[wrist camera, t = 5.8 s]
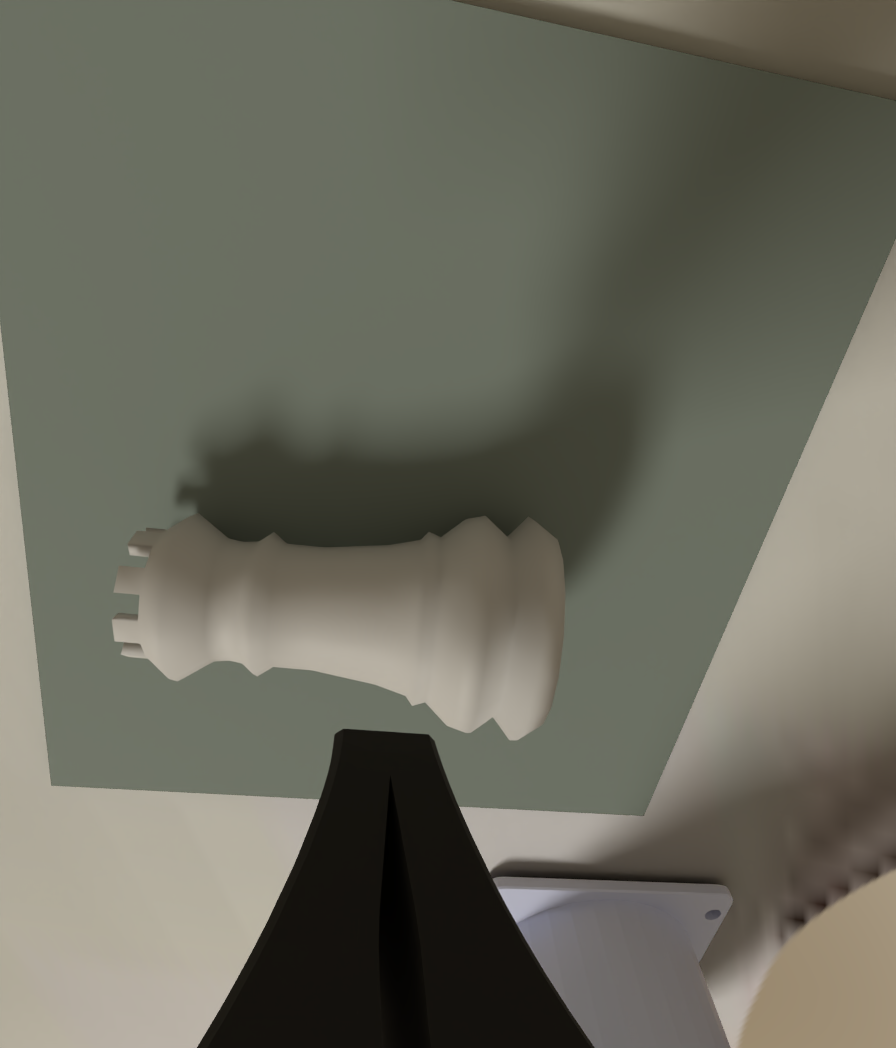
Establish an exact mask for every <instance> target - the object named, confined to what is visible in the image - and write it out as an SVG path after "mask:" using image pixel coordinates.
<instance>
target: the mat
mask: <svg viewBox="0 0 896 1048" xmlns="http://www.w3.org/2000/svg"><path fill="white" fill-rule="evenodd" d="M895 239H896V101H895V100H891V99H886V98H882V97H877V96H873V95H868V94H864V93H860V92H855V91H851V90H846V89H842V88H837V87H833V86H829V85H824V84H820V83H815V82H811V81H806V80H802V79H798V78H793V77H789V76H784V75H780V74H775V73H771V72H767V71H762V70H758V69H753V68H749V67H744V66H740V65H736V64H731V63H727V62H722V61H718V60H713V59H709V58H705V57H700V56H696V55H691V54H687V53H682V52H678V51H674V50H669V49H665V48H660V47H656V46H651V45H647V44H642V43H638V42H634V41H629V40H625V39H620V38H616V37H611V36H607V35H603V34H598V33H594V32H589V31H585V30H580V29H576V28H572V27H567V26H563V25H558V24H554V23H549V22H545V21H541V20H536V19H532V18H527V17H523V16H518V15H514V14H510V13H505V12H501V11H496V10H492V9H487V8H483V7H479V6H474V5H470V4H465V3H461V2H456V1H452V0H0V324H1V333H2V342H3V351H4V360H5V370H6V379H7V388H8V397H9V406H10V415H11V424H12V433H13V442H14V451H15V460H16V470H17V479H18V488H19V497H20V506H21V515H22V524H23V533H24V542H25V551H26V560H27V570H28V579H29V588H30V597H31V606H32V615H33V624H34V633H35V642H36V651H37V660H38V670H39V679H40V688H41V697H42V706H43V715H44V724H45V733H46V742H47V751H48V760H49V769H50V779H51V786H71V787H90V788H110V789H129V790H149V791H168V792H187V793H207V794H226V795H246V796H265V797H285V798H304V799H320V797H321V794H322V791H323V788H324V785H325V781H326V778H327V774H328V770H329V766H330V762H331V756H332V749H333V742H334V734H336V733H337V732H339V731H340V730H342V729H357V730H372V731H387V732H402V733H417V734H429V735H430V736H431V737H432V739H433V740H434V741H435V744H436V747H437V750H438V753H439V756H440V759H441V762H442V765H443V768H444V771H445V773H446V776H447V779H448V781H449V784H450V786H451V789H452V791H453V794H454V796H455V799H456V801H457V803H458V806H460V807H480V808H499V809H519V810H538V811H558V812H577V813H597V814H616V815H636V816H644V814H645V812H646V809H647V807H648V805H649V802H650V800H651V798H652V796H653V793H654V791H655V789H656V786H657V784H658V782H659V780H660V777H661V775H662V773H663V770H664V768H665V766H666V764H667V761H668V759H669V757H670V754H671V752H672V750H673V747H674V745H675V743H676V741H677V738H678V736H679V734H680V731H681V729H682V727H683V725H684V722H685V720H686V718H687V715H688V713H689V711H690V709H691V706H692V704H693V702H694V699H695V697H696V695H697V692H698V690H699V688H700V686H701V683H702V681H703V679H704V676H705V674H706V672H707V670H708V667H709V665H710V663H711V660H712V658H713V656H714V654H715V651H716V649H717V647H718V644H719V642H720V640H721V638H722V635H723V633H724V631H725V628H726V626H727V624H728V621H729V619H730V617H731V615H732V612H733V610H734V608H735V605H736V603H737V601H738V599H739V596H740V594H741V592H742V589H743V587H744V585H745V583H746V580H747V578H748V576H749V573H750V571H751V569H752V567H753V564H754V562H755V560H756V557H757V555H758V553H759V550H760V548H761V546H762V544H763V541H764V539H765V537H766V534H767V532H768V530H769V528H770V525H771V523H772V521H773V518H774V516H775V514H776V512H777V509H778V507H779V505H780V502H781V500H782V498H783V495H784V493H785V491H786V489H787V486H788V484H789V482H790V479H791V477H792V475H793V473H794V470H795V468H796V466H797V463H798V461H799V459H800V457H801V454H802V452H803V450H804V447H805V445H806V443H807V441H808V438H809V436H810V434H811V431H812V429H813V427H814V424H815V422H816V420H817V418H818V415H819V413H820V411H821V408H822V406H823V404H824V402H825V399H826V397H827V395H828V392H829V390H830V388H831V386H832V383H833V381H834V379H835V376H836V374H837V372H838V369H839V367H840V365H841V363H842V360H843V358H844V356H845V353H846V351H847V349H848V347H849V344H850V342H851V340H852V337H853V335H854V333H855V331H856V328H857V326H858V324H859V321H860V319H861V317H862V315H863V312H864V310H865V308H866V305H867V303H868V301H869V298H870V296H871V294H872V292H873V289H874V287H875V285H876V282H877V280H878V278H879V276H880V273H881V271H882V269H883V266H884V264H885V262H886V260H887V257H888V255H889V253H890V250H891V248H892V246H893V243H894V241H895ZM198 513H199V514H200V515H201V516H203V517H204V518H205V519H206V520H207V521H209V522H210V523H211V524H212V525H213V526H215V527H216V528H217V529H218V530H219V531H221V532H222V533H223V534H224V535H225V536H226V537H228V538H229V539H233V540H237V541H242V542H257V541H261V540H262V539H264V538H265V537H267V536H269V535H270V534H272V533H273V532H275V533H276V534H277V535H278V536H279V537H280V538H281V539H282V540H283V541H285V542H286V543H287V544H295V545H305V546H315V547H351V546H379V545H393V544H399V543H405V542H411V541H416V540H421V539H422V538H423V537H424V536H425V535H426V534H427V533H428V532H431V533H433V534H435V535H437V536H439V537H442V536H443V535H445V534H446V533H447V532H449V531H450V530H451V529H453V528H454V527H456V526H457V525H458V524H460V523H461V522H462V521H464V520H465V519H469V518H475V517H481V516H486V517H487V518H488V519H489V520H490V521H492V522H493V523H494V524H495V525H496V526H497V527H498V528H499V529H500V530H501V531H502V532H503V533H504V534H505V535H506V536H508V535H510V534H511V533H512V532H513V531H514V530H515V529H516V528H517V527H518V526H519V525H520V524H521V523H522V522H523V521H524V520H525V519H526V518H527V517H530V518H531V519H533V520H534V521H536V522H537V523H538V524H539V525H541V526H542V527H543V528H544V529H545V530H546V531H548V532H549V533H550V534H551V535H552V536H554V537H555V538H556V539H557V540H558V542H559V546H560V550H561V554H562V558H563V565H564V579H565V622H564V640H563V648H562V656H561V664H560V672H559V678H558V682H557V686H556V690H555V695H554V699H553V703H552V707H551V710H550V712H549V714H548V715H547V717H546V719H545V721H544V723H543V725H542V726H540V727H538V728H537V729H535V730H533V731H532V732H530V733H528V734H527V735H525V736H524V737H522V738H520V739H519V740H509V739H508V738H507V736H506V735H505V733H504V732H503V731H502V729H501V728H500V726H499V725H498V724H497V722H496V721H495V720H494V718H493V717H492V718H491V719H490V720H488V721H487V722H485V723H484V724H482V725H481V726H480V727H478V728H477V729H475V730H474V731H473V732H471V733H464V732H462V731H459V730H457V729H454V728H451V727H449V726H446V725H445V723H444V722H443V721H442V720H441V719H440V718H439V717H438V716H437V715H436V714H435V713H434V711H433V710H432V709H431V708H430V707H429V706H428V705H427V704H426V703H421V704H417V705H413V706H412V705H411V704H410V702H409V701H408V699H407V698H406V696H404V695H401V694H399V693H396V692H393V691H391V690H388V689H385V688H383V687H380V686H377V685H374V684H370V683H365V682H361V681H357V680H352V679H348V678H343V677H339V676H334V675H330V674H326V673H321V672H317V671H312V670H302V669H291V668H279V667H272V668H271V669H269V670H267V671H266V672H264V673H262V674H261V675H259V676H256V675H254V674H252V673H251V672H250V671H249V670H248V669H247V668H246V667H245V666H244V665H243V664H242V663H238V662H233V661H214V662H212V663H210V664H209V665H207V666H205V667H203V668H201V669H199V670H198V671H196V672H194V673H192V674H190V675H189V676H187V677H185V678H183V679H181V680H179V681H175V680H171V679H168V678H167V677H166V676H165V675H164V674H163V673H162V672H161V671H160V670H159V669H158V668H157V667H156V666H155V665H154V664H153V663H152V662H151V661H150V660H149V659H145V658H134V657H127V656H124V655H121V652H122V648H123V645H124V642H116V641H114V634H113V625H112V619H113V618H114V617H115V615H116V614H117V613H127V614H138V611H139V595H135V594H124V593H113V592H114V587H115V582H116V577H117V572H118V567H119V566H129V567H140V568H145V566H146V563H147V561H148V558H149V557H143V556H133V555H130V554H129V549H128V542H129V541H130V539H131V538H132V537H133V535H134V534H135V533H136V531H146V528H157V529H169V528H171V527H172V526H174V525H176V524H177V523H179V522H181V521H182V520H184V519H186V518H187V517H189V516H192V515H195V514H198Z"/></svg>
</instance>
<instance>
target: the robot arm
mask: <svg viewBox="0 0 896 1048" xmlns="http://www.w3.org/2000/svg"><path fill="white" fill-rule="evenodd" d="M732 903H733V898H732V896H731V894H730V891H729V889H728V888H727V887H726V886H724V885H719V884H695V883H667V882H640V881H612V880H585V879H557V878H530V877H496V878H493V879H492V877H491V875H490V873H489V871H488V869H487V867H486V864H485V862H484V860H483V858H482V856H481V854H480V852H479V850H478V848H477V846H476V844H475V842H474V840H473V838H472V836H471V833H470V831H469V829H468V827H467V824H466V822H465V820H464V818H463V815H462V813H461V811H460V808H459V806H458V803H457V801H456V799H455V796H454V794H453V791H452V789H451V786H450V784H449V781H448V779H447V776H446V773H445V771H444V768H443V765H442V762H441V759H440V756H439V753H438V750H437V747H436V744H435V741H434V740H433V739H432V737H431V736H430V735H429V734H417V733H402V732H387V731H372V730H357V729H342V730H340V731H339V732H337V733H336V734H334V742H333V749H332V756H331V762H330V766H329V770H328V774H327V778H326V781H325V785H324V788H323V791H322V794H321V797H320V800H319V803H318V806H317V809H316V812H315V814H314V817H313V819H312V822H311V824H310V827H309V829H308V832H307V835H306V837H305V840H304V842H303V845H302V847H301V850H300V852H299V855H298V857H297V859H296V862H295V864H294V866H293V869H292V871H291V873H290V875H289V877H288V879H287V881H286V884H285V886H284V888H283V890H282V892H281V894H280V896H279V898H278V900H277V903H276V905H275V907H274V909H273V911H272V913H271V915H270V917H269V919H268V922H267V924H266V926H265V928H264V930H263V931H262V933H261V935H260V937H259V939H258V941H257V943H256V945H255V947H254V949H253V951H252V953H251V954H250V956H249V958H248V960H247V962H246V964H245V966H244V968H243V969H242V971H241V973H240V975H239V977H238V978H237V980H236V982H235V984H234V986H233V987H232V989H231V991H230V993H229V995H228V996H227V998H226V1000H225V1002H224V1003H223V1005H222V1007H221V1009H220V1010H219V1012H218V1014H217V1015H216V1017H215V1019H214V1020H213V1022H212V1024H211V1025H210V1027H209V1029H208V1030H207V1032H206V1034H205V1035H204V1037H203V1039H202V1040H201V1042H200V1044H199V1045H198V1047H197V1048H730V1045H729V1042H728V1040H727V1037H726V1034H725V1032H724V1029H723V1026H722V1024H721V1021H720V1018H719V1016H718V1013H717V1010H716V1008H715V1005H714V1002H713V1000H712V997H711V994H710V992H709V989H708V986H707V984H706V981H705V978H704V976H703V973H702V970H701V968H700V965H699V962H700V960H701V959H702V957H703V955H704V953H705V952H706V950H707V948H708V946H709V944H710V943H711V941H712V939H713V937H714V936H715V934H716V932H717V930H718V929H719V927H720V925H721V923H722V921H723V920H724V918H725V916H726V914H727V913H728V911H729V909H730V907H731V906H732Z"/></svg>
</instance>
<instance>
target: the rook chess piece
mask: <svg viewBox="0 0 896 1048" xmlns="http://www.w3.org/2000/svg"><path fill="white" fill-rule="evenodd" d="M128 549H129V554H130V555H133V556H143V557H149V558H148V561H147V563H146V566H145V568H140V567H129V566H119V567H118V572H117V577H116V582H115V587H114V592H113V593H124V594H135V595H139V611H138V614H127V613H117V614H116V615H115V617H114V618H113V619H112V625H113V634H114V641H116V642H124V645H123V648H122V652H121V655H124V656H127V657H134V658H145V659H149V660H150V661H151V662H152V663H153V664H154V665H155V666H156V667H157V668H158V669H159V670H160V671H161V672H162V673H163V674H164V675H165V676H166V677H167V678H168V679H171V680H175V681H179V680H181V679H183V678H185V677H187V676H189V675H190V674H192V673H194V672H196V671H198V670H199V669H201V668H203V667H205V666H207V665H209V664H210V663H212V662H214V661H233V662H238V663H242V664H243V665H244V666H245V667H246V668H247V669H248V670H249V671H250V672H251V673H252V674H254V675H256V676H259V675H261V674H262V673H264V672H266V671H267V670H269V669H271V668H272V667H279V668H291V669H302V670H312V671H317V672H321V673H326V674H330V675H334V676H339V677H343V678H348V679H352V680H357V681H361V682H365V683H370V684H374V685H377V686H380V687H383V688H385V689H388V690H391V691H393V692H396V693H399V694H401V695H404V696H406V698H407V699H408V701H409V702H410V704H411V705H412V706H413V705H417V704H421V703H426V704H427V705H428V706H429V707H430V708H431V709H432V710H433V711H434V713H435V714H436V715H437V716H438V717H439V718H440V719H441V720H442V721H443V722H444V723H445V725H446V726H449V727H451V728H454V729H457V730H459V731H462V732H464V733H471V732H473V731H474V730H475V729H477V728H478V727H480V726H481V725H482V724H484V723H485V722H487V721H488V720H490V719H491V718H492V717H493V718H494V720H495V721H496V722H497V724H498V725H499V726H500V728H501V729H502V731H503V732H504V733H505V735H506V736H507V738H508V739H509V740H519V739H520V738H522V737H524V736H525V735H527V734H528V733H530V732H532V731H533V730H535V729H537V728H538V727H540V726H542V725H543V723H544V721H545V719H546V717H547V715H548V714H549V712H550V710H551V707H552V703H553V699H554V695H555V690H556V686H557V682H558V678H559V672H560V664H561V656H562V648H563V640H564V622H565V579H564V565H563V558H562V554H561V550H560V546H559V542H558V540H557V539H556V538H555V537H554V536H552V535H551V534H550V533H549V532H548V531H546V530H545V529H544V528H543V527H542V526H541V525H539V524H538V523H537V522H536V521H534V520H533V519H531V518H530V517H527V518H526V519H525V520H524V521H523V522H522V523H521V524H520V525H519V526H518V527H517V528H516V529H515V530H514V531H513V532H512V533H511V534H510V535H508V536H506V535H505V534H504V533H503V532H502V531H501V530H500V529H499V528H498V527H497V526H496V525H495V524H494V523H493V522H492V521H490V520H489V519H488V518H487V517H486V516H481V517H475V518H469V519H465V520H464V521H462V522H461V523H460V524H458V525H457V526H456V527H454V528H453V529H451V530H450V531H449V532H447V533H446V534H445V535H443V536H442V537H439V536H437V535H435V534H433V533H431V532H428V533H427V534H426V535H425V536H424V537H423V538H422V539H421V540H416V541H411V542H405V543H399V544H393V545H379V546H351V547H315V546H305V545H295V544H287V543H286V542H285V541H283V540H282V539H281V538H280V537H279V536H278V535H277V534H276V533H275V532H273V533H272V534H270V535H269V536H267V537H265V538H264V539H262V540H261V541H257V542H242V541H237V540H233V539H229V538H228V537H226V536H225V535H224V534H223V533H222V532H221V531H219V530H218V529H217V528H216V527H215V526H213V525H212V524H211V523H210V522H209V521H207V520H206V519H205V518H204V517H203V516H201V515H200V514H199V513H198V514H195V515H192V516H189V517H187V518H186V519H184V520H182V521H181V522H179V523H177V524H176V525H174V526H172V527H171V528H169V529H157V528H146V531H136V533H135V534H134V535H133V537H132V538H131V539H130V541H129V542H128Z"/></svg>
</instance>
